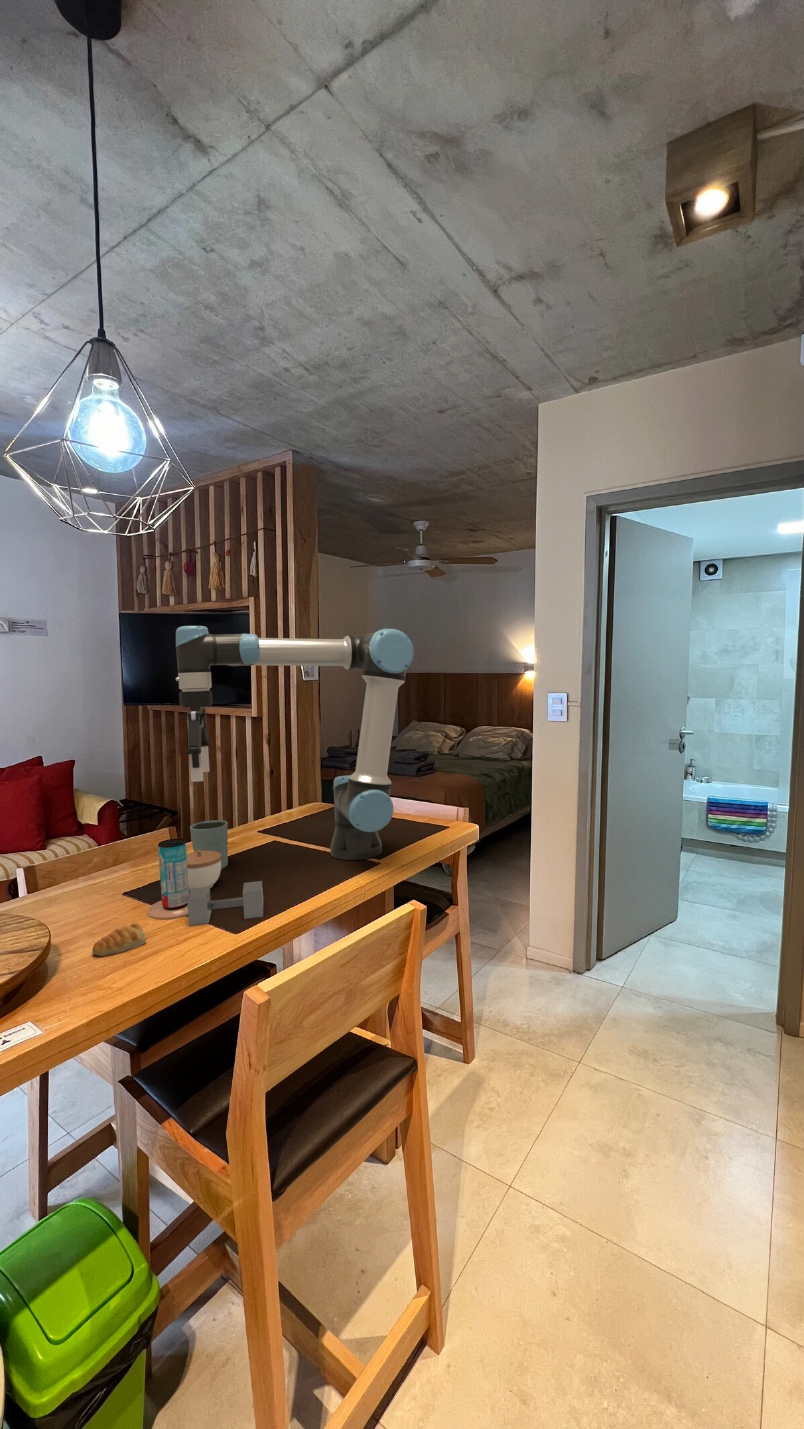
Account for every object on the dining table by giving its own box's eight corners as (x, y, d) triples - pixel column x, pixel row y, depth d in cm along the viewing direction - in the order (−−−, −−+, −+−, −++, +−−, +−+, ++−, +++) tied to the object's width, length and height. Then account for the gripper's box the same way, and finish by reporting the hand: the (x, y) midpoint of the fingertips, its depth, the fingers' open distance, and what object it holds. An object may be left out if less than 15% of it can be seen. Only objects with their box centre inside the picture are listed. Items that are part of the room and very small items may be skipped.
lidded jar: (168, 892, 146) (166, 855, 146) (198, 877, 156) (196, 842, 156) (203, 896, 142) (201, 859, 142) (231, 881, 152) (229, 846, 152)
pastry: (101, 962, 111) (99, 943, 111) (86, 953, 116) (85, 934, 116) (149, 944, 119) (148, 925, 118) (134, 935, 123) (132, 917, 123)
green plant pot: (212, 874, 158) (209, 830, 157) (184, 870, 163) (181, 827, 162) (237, 862, 167) (235, 821, 167) (210, 858, 172) (208, 818, 171)
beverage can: (177, 899, 140) (173, 837, 139) (195, 903, 137) (191, 840, 136) (156, 908, 135) (152, 844, 133) (174, 912, 132) (170, 847, 131)
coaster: (206, 895, 143) (206, 893, 143) (200, 915, 131) (200, 912, 131) (153, 901, 140) (153, 899, 140) (142, 922, 129) (142, 919, 129)
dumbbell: (263, 901, 138) (262, 876, 138) (262, 916, 129) (261, 890, 129) (194, 909, 135) (192, 883, 135) (188, 925, 126) (187, 898, 126)
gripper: (186, 689, 154) (191, 769, 156) (170, 692, 130) (176, 786, 132) (216, 688, 156) (220, 767, 158) (205, 691, 132) (211, 784, 133)
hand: (200, 776), depth 145 cm, fingers open, 13 cm apart
